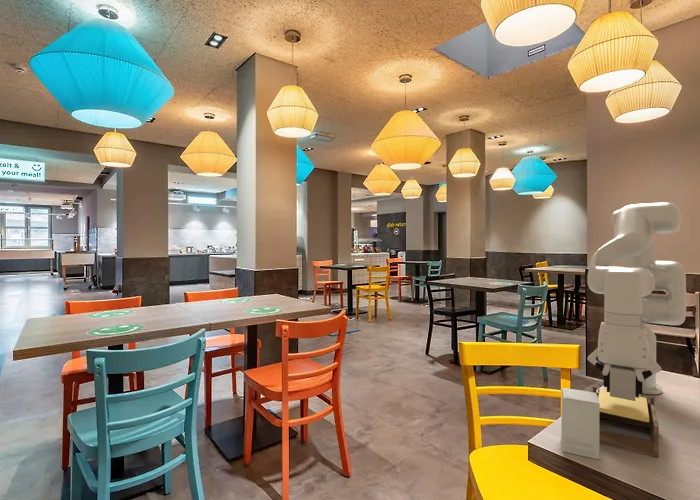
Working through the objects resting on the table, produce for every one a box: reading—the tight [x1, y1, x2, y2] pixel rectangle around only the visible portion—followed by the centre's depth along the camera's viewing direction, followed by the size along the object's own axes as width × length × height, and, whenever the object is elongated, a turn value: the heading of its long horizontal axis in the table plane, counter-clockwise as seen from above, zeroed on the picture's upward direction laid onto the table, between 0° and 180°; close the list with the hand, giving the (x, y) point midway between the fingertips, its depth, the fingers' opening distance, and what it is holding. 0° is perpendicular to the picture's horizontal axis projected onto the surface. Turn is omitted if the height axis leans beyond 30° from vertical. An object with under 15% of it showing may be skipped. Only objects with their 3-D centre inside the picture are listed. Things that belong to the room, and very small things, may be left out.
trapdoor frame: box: [592, 385, 660, 459], centre depth 94 cm, size 17×13×8 cm
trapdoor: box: [597, 388, 649, 422], centre depth 94 cm, size 14×11×1 cm
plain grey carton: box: [609, 365, 636, 401], centre depth 92 cm, size 5×5×7 cm
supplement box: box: [560, 387, 600, 460], centre depth 87 cm, size 7×7×13 cm
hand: (622, 392), depth 92 cm, fingers closed on plain grey carton, 5 cm apart
